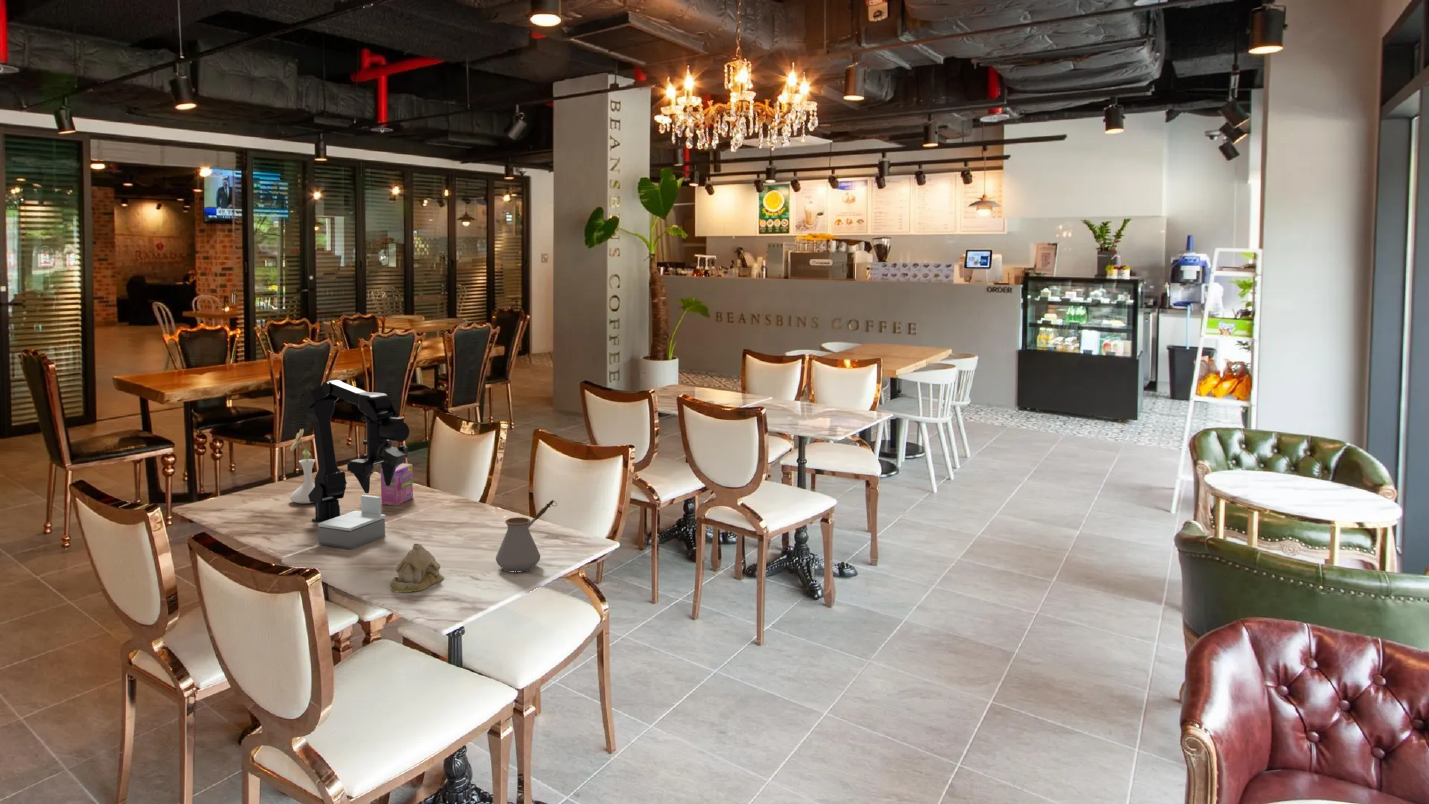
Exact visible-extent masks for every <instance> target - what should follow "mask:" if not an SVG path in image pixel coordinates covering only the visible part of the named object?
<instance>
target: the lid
mask: <svg viewBox="0 0 1429 804" xmlns="http://www.w3.org/2000/svg"><path fill="white" fill-rule="evenodd" d="M360 501H361V502H360V503H361V504H360V507H361V510H352V511H350V512H346V513H344V514H340V516H338V517H335V518H332V519H329V520H327V521H324V522H318V523H317V527H326V528H332V529H339V530H346V531H351V530H354V529H357V528H359V527H362V526H365V525H367V524H370V523H373V522H375V521H378V520H381V519H385V518H387V515H386V514H382V504H381V496H375V495H369V494H362V495H360Z"/></svg>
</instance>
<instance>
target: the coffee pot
mask: <svg viewBox="0 0 1429 804" xmlns="http://www.w3.org/2000/svg"><path fill="white" fill-rule="evenodd" d="M554 503H555V505H553V504H554ZM551 506H553V507H557V506H558V503H557V502H556V501H554V499H552V500H550V501H549V502H548V503H546V505H545V506H544V507H543V508H541V510H539V512H537V514H536V515H535V516H534V517H533V519H530V518H528V517H518V516H517V517H511V518H506V519H505V522H504V523H505V524H506V525H507V530H506V533H505V534H504V537H503V539H502V542H501V544H500V547H499V549H498V551H497V553H496V556H495V562H496V563H497V565H498V566H499V567H500V568H501V569H503V568H504V569H503V571H505V570H506V571H505V572H507V571H514V572H515V571H516V572H517V571H526V572H528V571H527V570H529V569H531V568H532V567H533V568H534V567H535V566H536V565H537V564H538V563H539V562H540V560H541V554H540V552H539V549H538V547H537V545H536V543H535V541H534V538H533V536H532V534H531V532H530V530H529V528H531V526H532V525H533V524H534V523H535V522H536V521H537V520H539V518H540V517H541V516H543V515H544V514H545V513H546V511H548V509H549V508H551ZM533 568H532V569H533ZM532 569H531V570H532ZM529 571H530V570H529ZM514 572H513V573H514Z"/></svg>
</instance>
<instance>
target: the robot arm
mask: <svg viewBox="0 0 1429 804" xmlns="http://www.w3.org/2000/svg"><path fill="white" fill-rule="evenodd" d="M339 399H340V400H343V401H346V402H348V403H350V404H353V405H355V406H357V407H358V410H359V411H360V412H362V413H363V414H364V415H362V417H361V418H360V420H361V421H362V422H365V434H366V435H365V437H366V439H365V440H363V441H362V445H364V446H366V453H365V454H363V457H362V458H363V459H362V458H356V459H351V460H349V462H347V464H346V468H347V470H346V471H348V472H350V473H351V474H353V475H354V476H355V479H356V480H357V481H358V483H359V485H360V486H361V488H362V490H363V492H364V493H365V494H369V493H370V484H371V476H372V474H373V473H374V472H375V471H374V470H373V469H374V466H376V465H379V464H380V467H381V470H382V471H383V475H384V480H385V483H386V486H390V484H391V481H392V478H393V475H394V472H395V470H396V468H397V467H398V466H399V465H400V464H403V463H404V461H406V458H408V456H409V455H408V452H409V450H408V446H406V445H404V444H403V445H400V446H396V447H394V445H392V442H397V443H402V442H405V441H406V440H407V439H408V437H409V435H410V428H409V425H408V424H407V423H405V422H404V417H399V415H398V411H397V410H396V408H395V406H394V404H393V402H392V400H391V398H390V396H389V395H388V394H386V393H384V392H374V391H373V392H371V391H370V392H369V391H366V390H363V389H361V388H359V387H355V386H352V385H351V384H347V383H345V382H343V381H342V380H339V379H333V380H327V381H325V382H323V383H322V384H321V385H320V386H317V387H315V388H313V390H311V391H310V392H307V393H305V394H304V397H302V407H303V409H304V414H305V415H306V416H307V417H308V418H309V420H310V421H311V423H312V429H313V436H314V443H315V451H316V456H317V457H316V459H317V465H318V470H317V471H316V474H315V477H314V484H315V487H314V488H313V490H312V491H311V492H310V494H309V495H308V497H309V500H310V502H313V503H314V506H315V507H314V509H315V511H314V512H315V513H314V514H315V517H313V518H311V521H312V522H318V523H321V522H324V521H327V520H329V519H332V518H335V517H338V516H341V511H340V510H341V505H340V504H339V501H340V500H339V499H343V498H344V496H345V493H346V489H347V485H348V483H347V478H346V472H345V471H344V470H343V471H341V469H340V468H339V467H338V466H337V461H336V460H337V459H336V452H335V446H334V438H333V437H334V436H333V431H332V423H331V420H332V416H333V414H334V412H335V403H337V401H338V400H339ZM313 503H312V504H313Z"/></svg>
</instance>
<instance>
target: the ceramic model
mask: <svg viewBox="0 0 1429 804" xmlns="http://www.w3.org/2000/svg"><path fill="white" fill-rule="evenodd" d="M440 569H441V564H439V563H438V561H436V558H435V557H434V555H433V554H432V553H431V552H430V551H429V550H427V549H426V548H425V547H424V546H423V545H422V544H420V543H414V544H413V545H412V549H410V550H409V551H407V553H406V555H405V556H404V557H403V558H402V559H401V561H400V562H399V563H398V565H397V566H396V568H395V572H396V573H398V574H397V575H398V576H395V577H393V578H392V580H391V581H390V583H389V587H390V588H391V591H392V590H393V591H392V592H394V591H398V592H397V593H413V592H412V591H414V592H418V591H423V590H426V589H427V588H428V587H430V586H432V585H434V584H436V583H439V582H440V581H442V580H443V579H444V578H445V577H444V576H443V575H442V574H441V573H440Z"/></svg>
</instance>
